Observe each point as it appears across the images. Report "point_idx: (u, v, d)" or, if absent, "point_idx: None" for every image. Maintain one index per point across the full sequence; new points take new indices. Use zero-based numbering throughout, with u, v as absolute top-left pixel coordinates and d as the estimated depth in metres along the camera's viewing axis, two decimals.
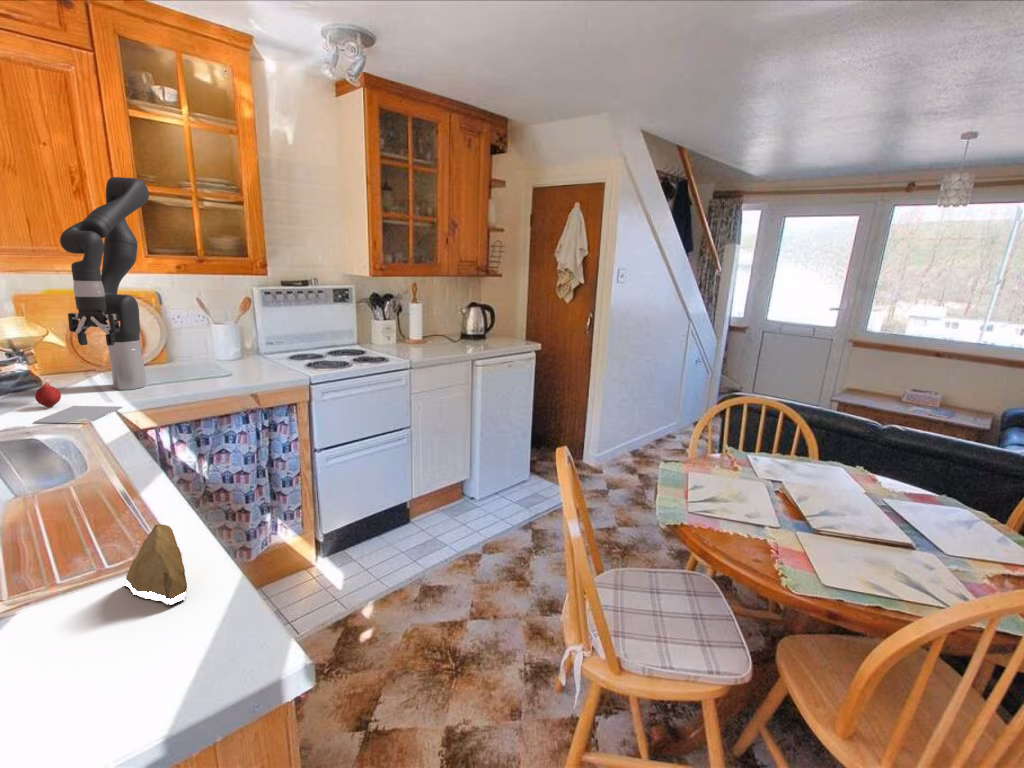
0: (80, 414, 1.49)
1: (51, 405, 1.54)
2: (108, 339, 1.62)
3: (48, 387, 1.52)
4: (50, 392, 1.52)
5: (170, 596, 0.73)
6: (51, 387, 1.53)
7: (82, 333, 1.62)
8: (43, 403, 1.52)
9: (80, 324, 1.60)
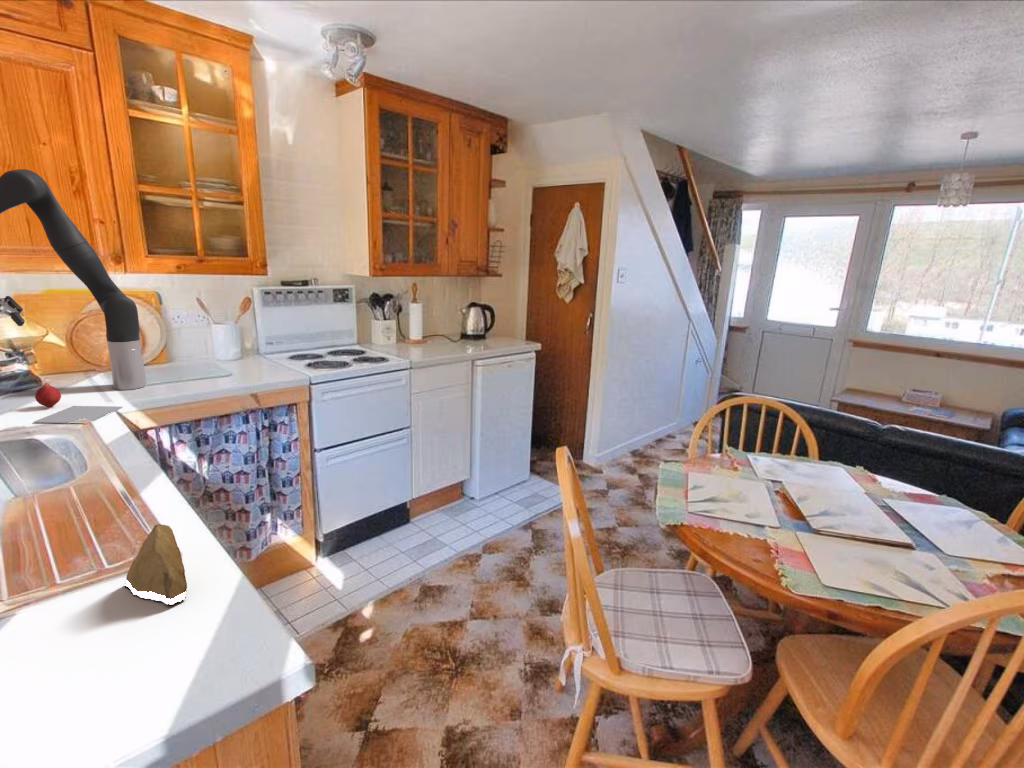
0: (80, 414, 1.49)
1: (51, 405, 1.54)
2: None
3: (48, 387, 1.52)
4: (50, 392, 1.52)
5: (170, 596, 0.73)
6: (51, 387, 1.53)
7: (12, 314, 1.54)
8: (43, 403, 1.52)
9: None
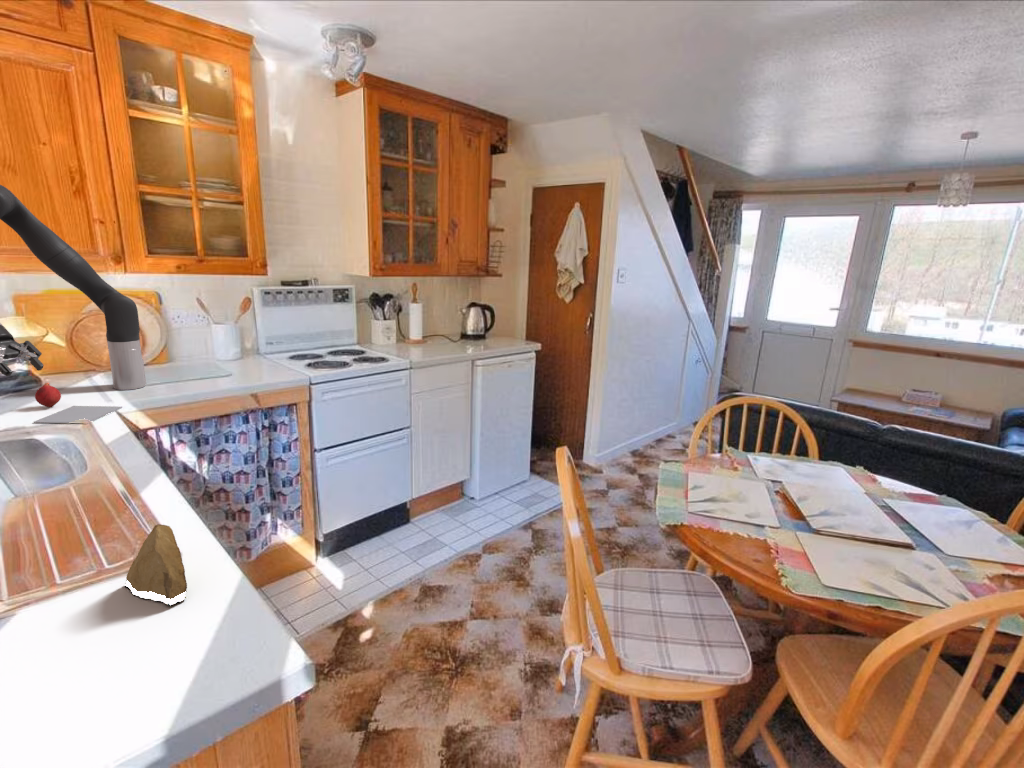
0: (80, 414, 1.49)
1: (51, 405, 1.54)
2: None
3: (48, 387, 1.52)
4: (50, 392, 1.52)
5: (170, 596, 0.73)
6: (51, 387, 1.53)
7: (31, 359, 1.56)
8: (43, 403, 1.52)
9: None
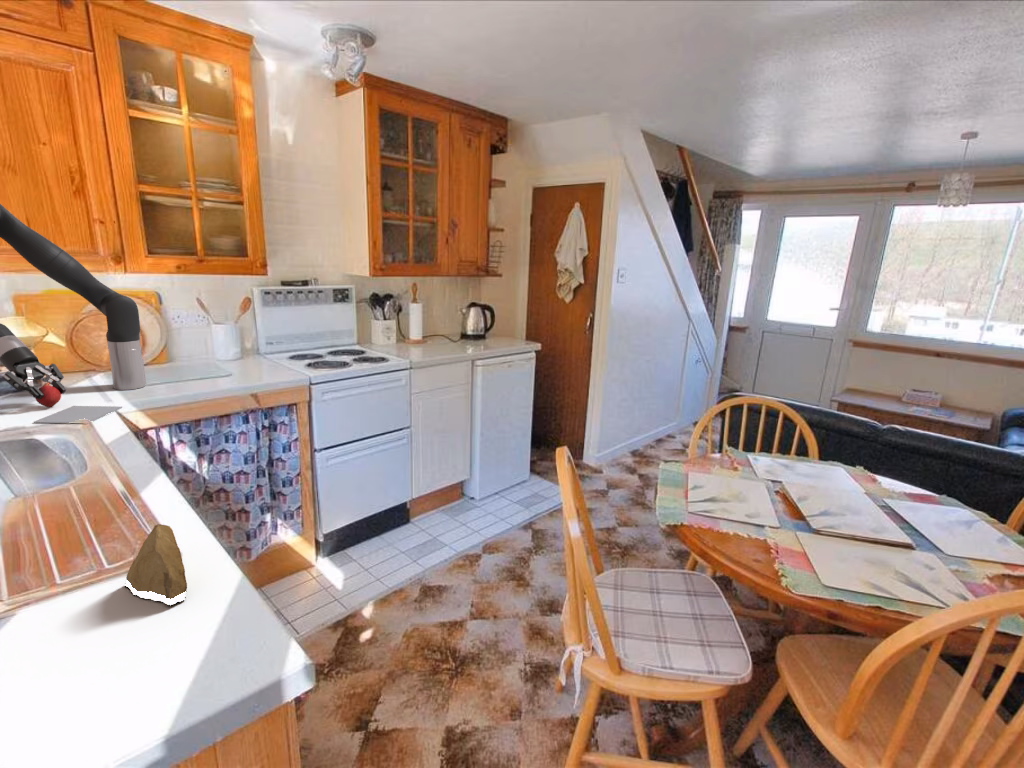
0: (80, 414, 1.49)
1: (51, 405, 1.54)
2: None
3: (48, 387, 1.52)
4: (50, 392, 1.52)
5: (170, 596, 0.73)
6: (51, 387, 1.53)
7: (54, 383, 1.56)
8: (43, 403, 1.52)
9: None
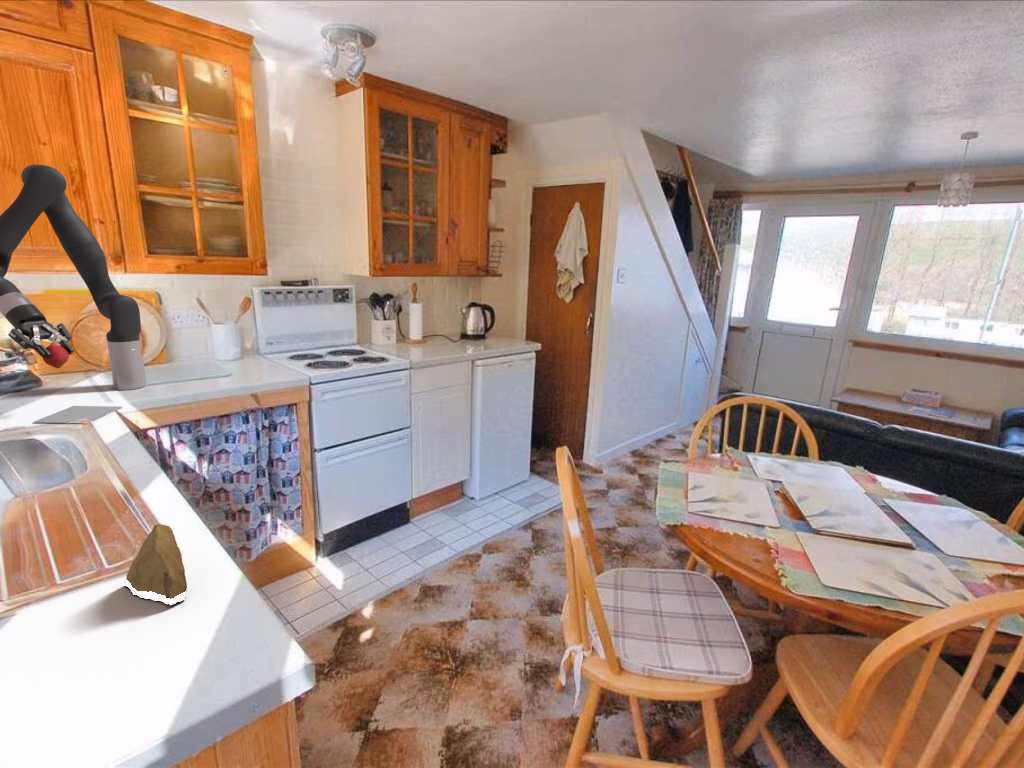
0: (80, 414, 1.49)
1: (58, 365, 1.47)
2: None
3: (55, 347, 1.46)
4: (57, 351, 1.46)
5: (170, 596, 0.73)
6: (58, 346, 1.47)
7: (61, 343, 1.49)
8: (50, 363, 1.45)
9: None
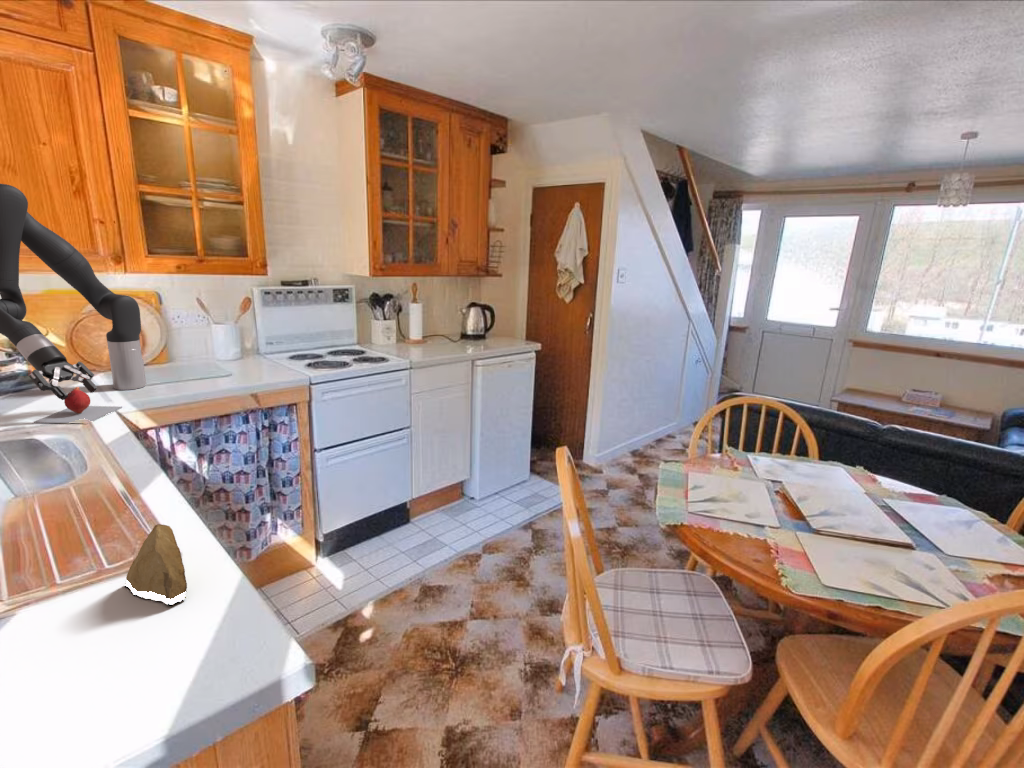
0: (80, 414, 1.49)
1: (80, 410, 1.48)
2: None
3: (78, 392, 1.48)
4: (80, 396, 1.47)
5: (170, 596, 0.73)
6: (81, 391, 1.48)
7: (84, 381, 1.51)
8: (72, 408, 1.47)
9: None
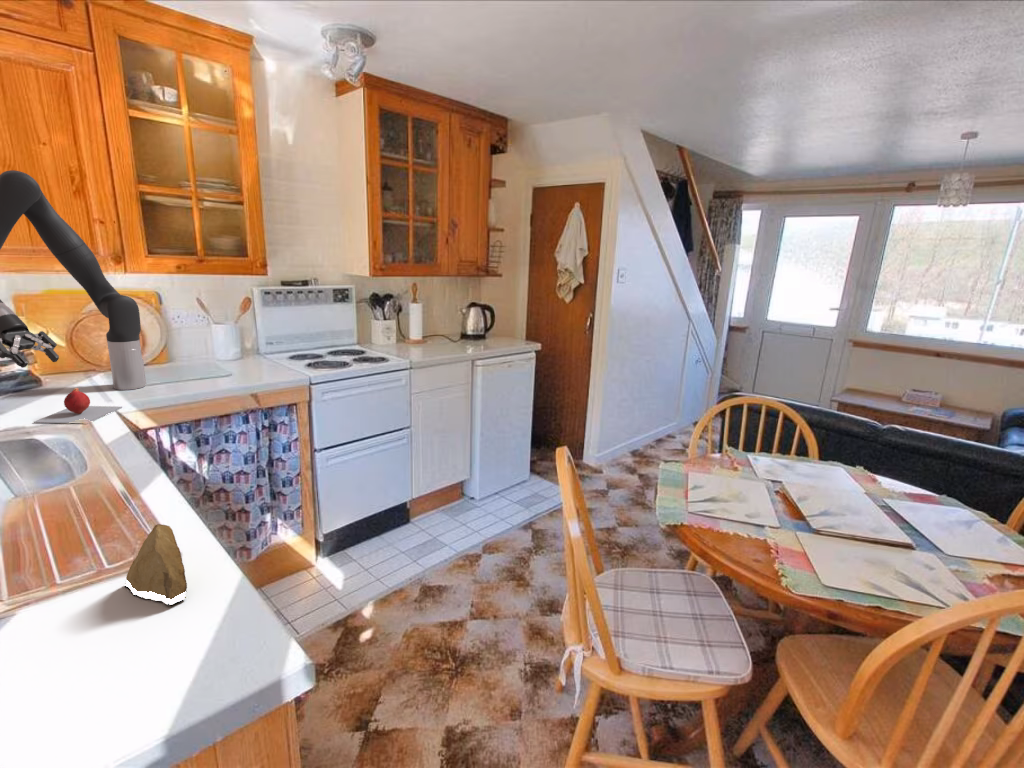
0: (80, 414, 1.49)
1: (80, 411, 1.48)
2: None
3: (77, 393, 1.47)
4: (80, 398, 1.47)
5: (170, 596, 0.73)
6: (80, 393, 1.48)
7: (46, 350, 1.51)
8: (72, 409, 1.46)
9: None
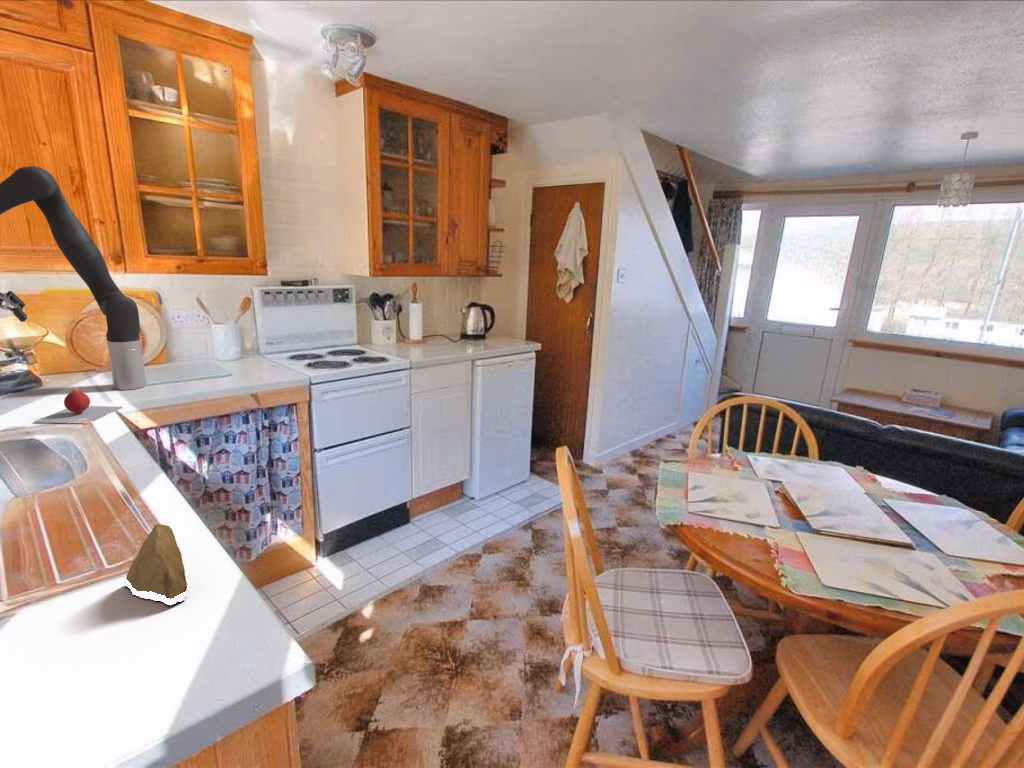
0: (80, 414, 1.49)
1: (80, 411, 1.48)
2: None
3: (77, 393, 1.47)
4: (80, 398, 1.47)
5: (170, 596, 0.73)
6: (80, 393, 1.48)
7: (14, 310, 1.50)
8: (72, 409, 1.46)
9: None
